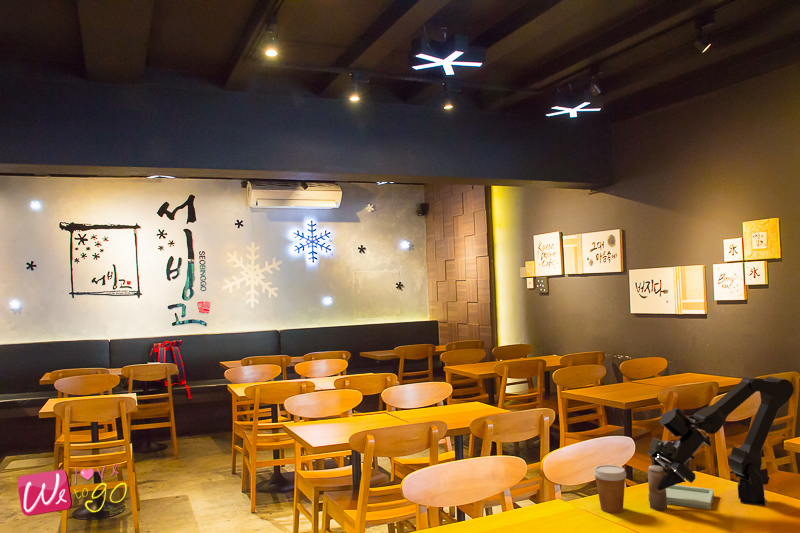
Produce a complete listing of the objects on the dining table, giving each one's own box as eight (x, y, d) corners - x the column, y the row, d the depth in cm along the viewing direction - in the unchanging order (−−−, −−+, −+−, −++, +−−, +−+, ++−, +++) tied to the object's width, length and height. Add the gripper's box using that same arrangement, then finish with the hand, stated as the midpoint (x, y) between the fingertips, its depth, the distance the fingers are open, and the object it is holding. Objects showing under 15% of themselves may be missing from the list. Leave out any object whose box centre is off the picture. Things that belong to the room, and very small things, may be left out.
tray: (714, 495, 185) (713, 489, 185) (710, 509, 174) (709, 502, 174) (655, 488, 194) (655, 482, 195) (648, 501, 183) (648, 494, 184)
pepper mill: (668, 506, 179) (665, 466, 179) (666, 511, 174) (663, 470, 175) (651, 503, 181) (648, 464, 182) (648, 509, 177) (645, 468, 178)
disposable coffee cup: (631, 515, 173) (628, 474, 173) (597, 514, 175) (594, 473, 175) (625, 504, 182) (623, 464, 182) (593, 503, 184) (591, 464, 184)
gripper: (651, 422, 188) (619, 459, 187) (682, 435, 170) (647, 477, 169) (677, 445, 188) (645, 482, 187) (710, 462, 170) (676, 503, 169)
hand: (652, 485), depth 178 cm, fingers open, 6 cm apart
